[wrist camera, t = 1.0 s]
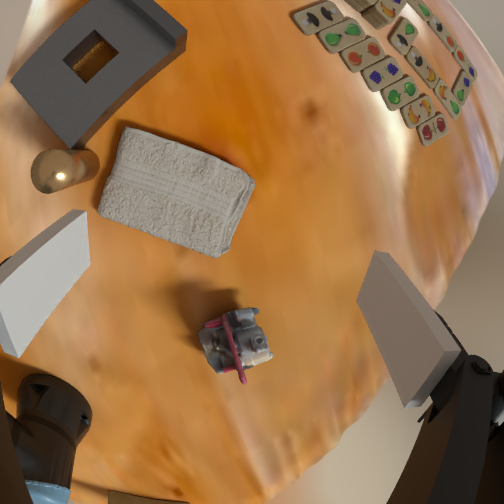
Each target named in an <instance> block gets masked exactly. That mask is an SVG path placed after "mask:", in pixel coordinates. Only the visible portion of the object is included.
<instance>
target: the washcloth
mask: <svg viewBox="0 0 504 504" xmlns="http://www.w3.org/2000/svg"><path fill="white" fill-rule="evenodd" d="M254 187H255V184H254V179H253V178H251V177H250V176H249V175H247V174H246V173H245V172H244V171H243V170H242V169H240V168H238V167H236V166H234V165H231V164H229V163H227V162H225V161H222V160H220V159H219V158H217V157H215V156H212V155H210V154H207V153H205V152H202V151H200V150H196V149H194V148H191V147H188V146H185V145H183V144H180V143H178V142H175V141H171V140H168V139H165V138H162V137H159V136H156V135H154V134H151V133H148V132H145V131H142V130H139V129H133V128H130V127H125V129H124V131H123V132H122V136H121V138H120V141H119V145H118V148H117V153H116V159H115V162H114V165H113V168H112V171H111V174H110V176H108V177H107V180H106V183H105V186H104V189H103V191H102V195H101V200H100V202H99V206H98V214H99V215H101V216H102V217H103V218H105V217H106V218H107V219H110V220H112V221H116V222H120V223H121V224H123V225H127V226H129V227H131V228H135V229H139V230H141V231H142V232H147V233H149V234H151V235H152V236H153V237H154V236H156V237H159V238H163V239H164V240H168V241H169V242H173V243H176V244H179V245H182V246H183V247H186V248H190V249H193V250H195V251H198V252H200V253H203V254H205V255H208V256H211V257H213V258H214V257H215V258H219V257H220V255H221V254H224V253H225V252H227V251H228V250H229V249H230V242H231V239H232V236H233V234H234V232H235V230H236V228H237V225H238V223H239V220H240V218H241V216H242V214H243V212H244V209H245V207H246V205H247V202H248V200H249V198H250V196H251V194H252V191H253V189H254Z"/></svg>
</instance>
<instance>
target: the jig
mask: <svg viewBox="0 0 504 504" xmlns="http://www.w3.org/2000/svg"><path fill="white" fill-rule="evenodd" d="M101 40H102V41H103V42H104V43H106V44H107V45H108V46H109V47H110V48H111V49H112V50H113V51H114V52H115V53H116V54H117V55H116V56H115V57H114V58H113V59H112V60H111V61H109V62H108V63H107V64H106V65H105V66H104V67H103V68H102V69H101V70H100V71H99V72H98V73H97V74H96V75H95V76H94V77H92V78H91V79H90V80H89V81H88V82H87V83H86V81H85V80H84V79H83V78H82V77H81V76H80V75H79V74H78V73H77V72H76V71H75V70H74V69H73V68H72V67H73V66H74V65H75V64H76V63H77V62H78V61H80V60H81V59H82V58H83V57H84V56H85V55H86V54H87V53H88V52H89V51H90V50H91V49H92V48H93V47H94V46H96V45H97V44H98V43H99V42H100V41H101ZM186 40H187V30H186V29H185V28H184V27H183V26H182V25H181V24H180V23H179V22H177V21H176V20H175V19H174V18H173V17H172V16H171V15H170V14H169V13H167V12H166V11H165V10H164V9H163V8H162V7H160V6H159V5H158V4H157V3H156V2H155V1H153V0H90V1H89V2H88V3H87V4H86V5H84V6H83V7H82V8H81V9H80V10H78V11H77V12H76V13H75V14H74V15H73V16H71V17H70V18H69V19H68V20H67V21H66V22H65V23H64V24H63V25H62V26H61V27H59V28H58V29H57V30H56V31H55V32H54V33H53V34H52V35H51V36H50V37H49V38H48V39H47V40H46V41H45V42H44V43H43V44H42V45H41V46H40V47H39V49H38V50H37V51H36V52H35V53H34V54H33V55H32V56H31V57H30V58H29V59H28V61H27V62H26V63H25V64H24V65H23V66H22V68H21V69H20V70H19V71H18V72H17V73H16V75H15V76H14V77H13V78H12V80H11V81H10V82H11V83H12V84H13V86H14V87H15V88H16V89H17V90H18V92H19V93H20V94H21V95H22V96H23V97H24V99H25V100H26V101H27V102H28V103H29V104H30V105H31V107H32V108H33V109H34V110H35V111H36V112H37V113H38V115H39V116H40V117H41V118H42V119H43V120H44V121H45V122H46V124H47V125H48V126H49V127H50V128H51V129H52V130H53V131H54V132H55V133H56V135H57V136H58V137H59V138H60V139H61V140H62V141H63V142H64V143H65V144H66V145H67V146H68V147H69V149H75V150H81V149H82V147H83V146H84V145H85V144H86V143H87V142H88V141H89V140H90V138H91V137H92V136H93V135H94V134H95V133H96V132H97V131H98V130H99V129H100V128H101V126H102V125H103V124H104V123H105V122H106V121H107V120H108V119H109V118H110V117H111V116H112V115H113V114H114V113H115V112H116V111H117V110H118V109H119V108H120V107H121V106H122V105H123V104H124V103H125V102H126V101H127V100H128V99H129V98H131V97H132V96H133V95H134V94H135V93H136V92H137V91H138V90H139V89H140V88H141V87H142V86H144V85H145V84H146V83H147V82H148V81H149V80H150V79H152V78H153V77H154V76H155V75H156V74H157V73H159V72H160V71H161V70H162V69H163V68H165V67H166V66H167V65H168V64H169V63H171V62H172V61H173V60H174V59H176V58H177V57H178V56H180V55H181V54H182V53H183V52H185V50H186Z"/></svg>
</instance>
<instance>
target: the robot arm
mask: <svg viewBox="0 0 504 504" xmlns="http://www.w3.org/2000/svg"><path fill="white" fill-rule="evenodd" d="M89 266H90V254H89V243H88V229H87V211H84V210H75V209H73V210H71V211H70V212H68V213H67V214H66V215H64V216H63V217H61V218H60V219H59V220H57V221H56V222H55V223H53V224H52V225H51V226H49V227H48V228H47V229H45V230H44V231H43V232H41V233H40V234H39V235H37V236H36V237H35V238H34V239H32V240H31V241H30V242H29V243H27V244H26V245H25V246H24V247H22V248H21V249H20V250H19V251H18V252H16V253H15V254H14V255H13V256H11V257H9V258H7V259H5V260H4V261H3V262H2V263H1V264H0V344H1V346H2V348H3V350H4V352H5V353H7V354H10V355H12V356H15V357H17V358H20V356H21V355H22V353H23V352H24V351H25V349H26V348H27V346H28V345H29V343H30V342H31V340H32V339H33V338H34V336H35V335H36V333H37V332H38V330H39V329H40V328H41V326H42V325H43V324H44V322H45V321H46V320H47V318H48V317H49V316H50V314H51V313H52V312H53V310H54V309H55V308H56V306H57V305H58V304H59V302H60V301H61V300H62V299H63V297H64V296H65V295H66V294H67V292H68V291H69V290H70V289H71V287H72V286H73V285H74V284H75V282H76V281H77V280H78V279H79V277H80V276H81V275H82V274H83V273H84V271H85V270H86V269H87V268H88V267H89ZM356 301H357V303H358V305H359V307H360V309H361V311H362V313H363V315H364V317H365V320H366V322H367V324H368V326H369V328H370V330H371V332H372V334H373V337H374V339H375V341H376V343H377V345H378V348H379V350H380V352H381V354H382V357H383V359H384V361H385V363H386V366H387V368H388V370H389V373H390V375H391V377H392V380H393V382H394V384H395V387H396V389H397V392H398V394H399V397H400V399H401V401H402V404H403V406H404V408H411V407H419V406H421V405H422V404H423V403H424V402H425V400H426V399H427V398H428V397H429V395H430V396H431V399H432V401H433V403H432V404H431V405H430V406H429V408H428V409H427V410H426V411H425V412H424V414H423V415H422V416H421V417H420V418H419V420H418V421H417V422H421V421H422V419H424V418H425V419H424V421H423V424H422V427H421V430H420V432H419V435H418V438H417V440H416V442H415V445H414V447H413V450H412V452H411V454H410V457H409V459H408V461H407V463H406V465H405V468H404V470H403V472H402V474H401V476H400V478H399V480H398V482H397V484H396V486H395V488H394V490H393V492H392V494H391V496H390V498H389V500H388V502H387V503H386V504H504V422H503V423H502V424H501V425H500V426H499V425H498V420H499V419H500V418H501V417H502V415H504V370H503V372H502V373H497V372H493V370H492V368H491V367H490V365H489V364H488V362H487V361H485V360H484V359H483V358H481V357H479V356H477V355H468V354H467V352H466V351H465V349H464V348H463V346H462V345H461V343H460V342H459V340H458V339H457V337H456V336H455V335H454V334H453V332H452V330H451V329H450V327H448V325H447V323H446V322H445V321H444V320H443V318H442V317H441V316H440V315H439V314H438V313H437V312H436V311H434V310H433V309H432V308H431V306H430V305H429V304H428V302H427V301H426V300H425V298H424V297H423V296H422V294H421V293H420V292H419V291H418V289H417V288H416V287H415V285H414V284H413V283H412V282H411V280H410V279H409V278H408V276H407V275H406V274H405V273H404V271H403V270H402V269H401V268H400V267H399V265H398V264H397V263H396V262H395V260H394V259H393V258H392V257H391V256H390V254H389V253H385V252H379V251H374V254H373V257H372V259H371V262H370V265H369V268H368V271H367V274H366V276H365V279H364V282H363V284H362V287H361V290H360V292H359V295H358V297H357V300H356ZM91 421H92V410H91V407H90V405H89V403H88V402H87V400H86V399H85V398H84V397H83V395H82V394H81V393H80V392H79V391H77V390H76V389H75V388H74V387H72V386H71V385H69V384H68V383H66V382H64V381H62V380H60V379H58V378H56V377H53V376H50V375H45V374H32V375H29V376H27V377H25V378H24V379H23V381H22V383H21V385H20V387H19V389H18V392H17V417H16V419H15V418H14V417H13V416H12V415H11V414H9V413H8V412H7V411H6V410H5V406H4V401H3V395H2V389H1V382H0V504H67V503H68V499H69V495H70V493H71V491H70V486H71V478H72V472H73V465H74V459H75V453H76V448H77V446H78V445H79V443H80V442H81V440H82V439H83V438H84V436H85V435H86V433H87V432H88V430H89V428H90V426H91Z"/></svg>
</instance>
